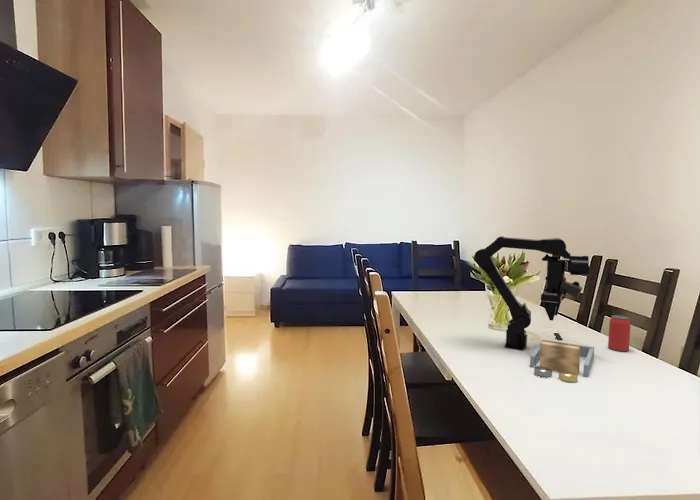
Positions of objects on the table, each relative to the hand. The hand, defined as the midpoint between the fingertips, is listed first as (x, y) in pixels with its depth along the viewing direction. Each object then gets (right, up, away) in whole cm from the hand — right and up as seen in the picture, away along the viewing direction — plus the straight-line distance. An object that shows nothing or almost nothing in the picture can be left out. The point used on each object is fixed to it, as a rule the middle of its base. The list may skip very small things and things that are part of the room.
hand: (553, 317), depth 161 cm
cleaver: (+11, -10, +30) cm, 33 cm away
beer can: (+25, -12, +4) cm, 28 cm away
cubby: (-2, -13, -11) cm, 17 cm away
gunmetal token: (-13, -14, -23) cm, 30 cm away
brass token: (-8, -15, -27) cm, 31 cm away
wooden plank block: (-7, -14, -19) cm, 24 cm away
